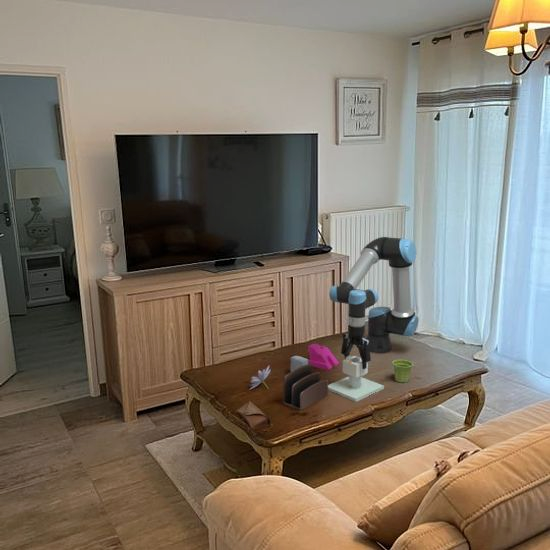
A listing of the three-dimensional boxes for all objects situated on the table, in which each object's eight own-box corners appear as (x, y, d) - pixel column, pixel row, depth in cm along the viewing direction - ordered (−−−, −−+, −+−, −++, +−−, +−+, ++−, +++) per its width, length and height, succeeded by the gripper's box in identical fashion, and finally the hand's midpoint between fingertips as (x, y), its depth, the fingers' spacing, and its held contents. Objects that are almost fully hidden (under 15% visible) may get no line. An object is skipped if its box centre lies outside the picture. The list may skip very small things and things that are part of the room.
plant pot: (398, 374, 276) (399, 358, 274) (415, 380, 269) (416, 363, 267) (387, 380, 269) (388, 363, 267) (404, 386, 263) (405, 368, 261)
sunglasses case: (233, 410, 239) (240, 396, 239) (246, 415, 243) (253, 401, 243) (251, 429, 224) (259, 414, 224) (265, 433, 227) (272, 418, 228)
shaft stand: (353, 377, 273) (354, 347, 269) (383, 388, 260) (385, 358, 256) (325, 389, 260) (325, 358, 256) (355, 402, 247) (356, 369, 243)
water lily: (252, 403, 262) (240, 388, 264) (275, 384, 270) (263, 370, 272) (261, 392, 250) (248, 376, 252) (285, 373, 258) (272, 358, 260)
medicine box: (308, 375, 275) (308, 359, 273) (302, 378, 272) (302, 361, 270) (296, 371, 280) (296, 355, 278) (290, 374, 277) (290, 357, 275)
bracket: (308, 365, 288) (308, 346, 286) (318, 359, 296) (318, 340, 294) (328, 370, 281) (329, 351, 279) (338, 364, 290) (339, 345, 287)
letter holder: (282, 404, 245) (282, 374, 242) (310, 389, 260) (311, 360, 257) (300, 411, 239) (300, 380, 236) (328, 395, 253) (328, 366, 250)
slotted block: (353, 367, 263) (354, 354, 262) (367, 372, 258) (368, 359, 256) (342, 372, 258) (343, 359, 257) (356, 377, 252) (356, 364, 251)
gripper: (333, 321, 258) (332, 368, 263) (369, 332, 243) (368, 381, 248) (344, 317, 263) (343, 363, 268) (380, 328, 248) (378, 376, 253)
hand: (355, 372), depth 258 cm, fingers closed on slotted block, 8 cm apart
